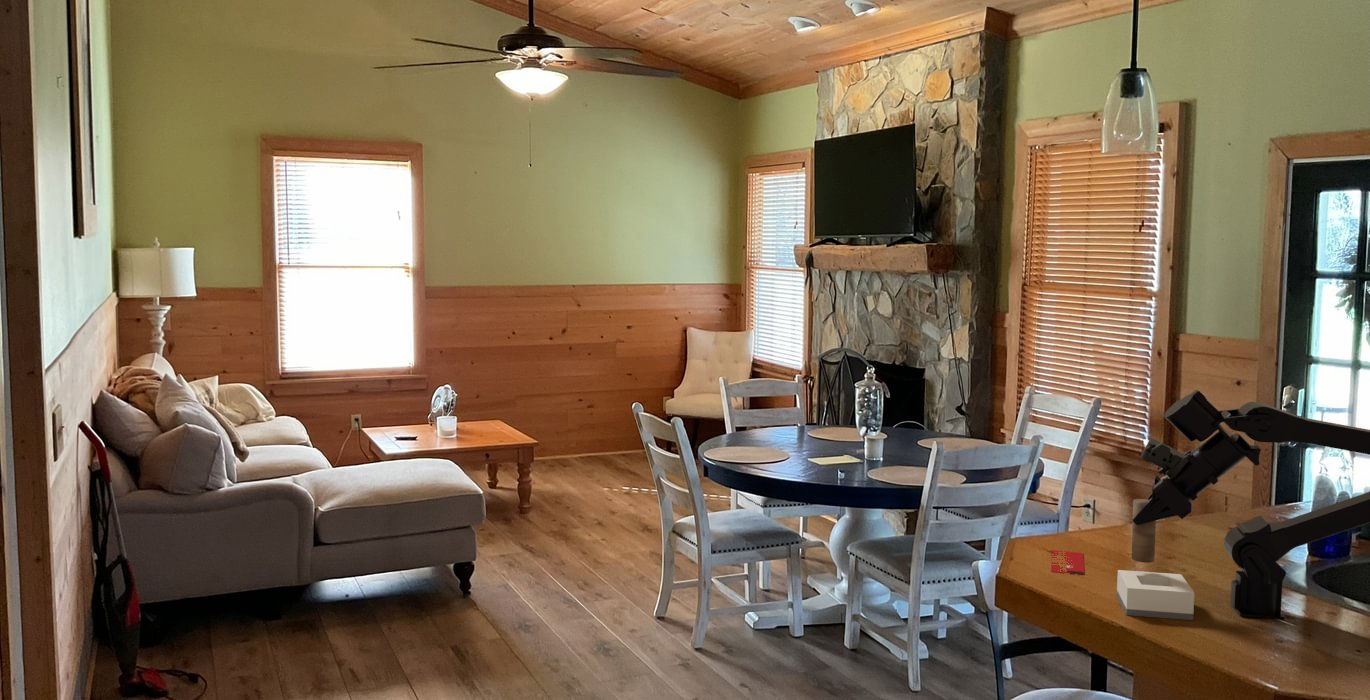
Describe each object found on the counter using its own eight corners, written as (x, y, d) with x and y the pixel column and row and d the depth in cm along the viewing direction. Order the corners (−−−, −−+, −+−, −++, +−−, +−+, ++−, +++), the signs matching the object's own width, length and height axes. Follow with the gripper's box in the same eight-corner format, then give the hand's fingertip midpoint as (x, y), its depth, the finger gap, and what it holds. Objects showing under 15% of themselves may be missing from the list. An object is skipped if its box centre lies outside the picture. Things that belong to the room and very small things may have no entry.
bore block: (1179, 600, 181) (1181, 574, 181) (1193, 620, 171) (1194, 592, 171) (1116, 595, 183) (1117, 569, 183) (1126, 615, 174) (1127, 587, 173)
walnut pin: (1153, 557, 182) (1154, 499, 181) (1155, 563, 179) (1157, 504, 178) (1130, 555, 183) (1131, 498, 182) (1132, 561, 180) (1134, 503, 179)
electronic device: (1051, 552, 211) (1050, 574, 197) (1051, 549, 211) (1051, 571, 197) (1083, 555, 209) (1084, 577, 195) (1083, 552, 209) (1084, 574, 195)
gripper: (1175, 416, 186) (1105, 473, 191) (1170, 433, 169) (1094, 495, 175) (1224, 465, 183) (1152, 521, 189) (1224, 486, 166) (1145, 548, 172)
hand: (1135, 520), depth 181 cm, fingers closed on walnut pin, 4 cm apart
